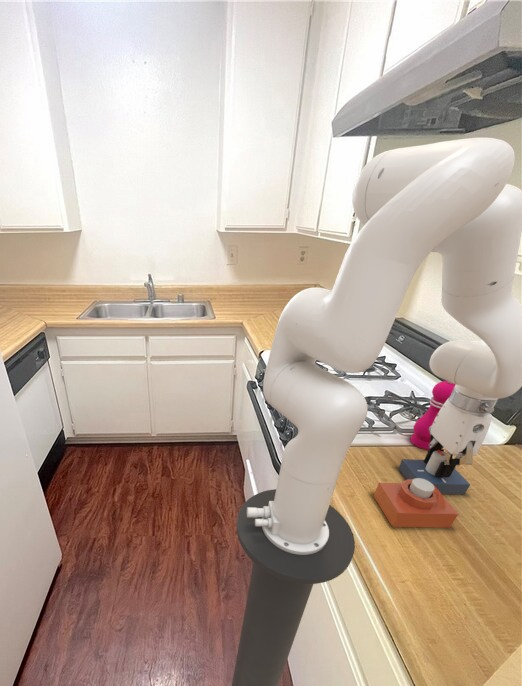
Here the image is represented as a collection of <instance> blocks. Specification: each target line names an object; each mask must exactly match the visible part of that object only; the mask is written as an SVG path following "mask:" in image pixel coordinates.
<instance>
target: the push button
mask: <svg viewBox="0 0 522 686" xmlns="http://www.w3.org/2000/svg"><path fill="white" fill-rule="evenodd" d="M409 490H410V492H411V493H413V494H414V495H416V496H418V497H421V498H429V497H430V496H431V495H432V493H433V491H434V485H433V484H432V483H431V482H429V481H427V480H425V479H421V478H415V479H413V480H412V483H411V485H410V487H409Z"/></svg>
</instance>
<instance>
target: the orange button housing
mask: <svg viewBox="0 0 522 686" xmlns="http://www.w3.org/2000/svg"><path fill="white" fill-rule="evenodd" d="M412 480H413V479H405V480H403V481H402V482H378V483H377V486H376V489H375V491H374V493H373V498H374V499H375V501H376V503H377V504H378V506H379V508H380V509H381V511H382V512H383V514H384V516H385V517H386V520H387V521H388V522H389V524H390V526H391V527H394V528H445V529H447V528H451V527H452V525H453V524H454V522H455V521H456V519H457V517H458V516H459V512H457V509H455V508H454V507H453V505H452V504H451V503H450V502H449V501H448V499H447V498H446V497H445V496H444V494H441V493H440V491H439V490H438V489H437V488H436V487H435V485H434V484H433V485H434V491H433V493H432V495H431V496H430V497H429V498H421V497H418V496H416V495H414V494H413V493H411V492H410V490H409V487H410V485H411V483H412Z"/></svg>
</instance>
